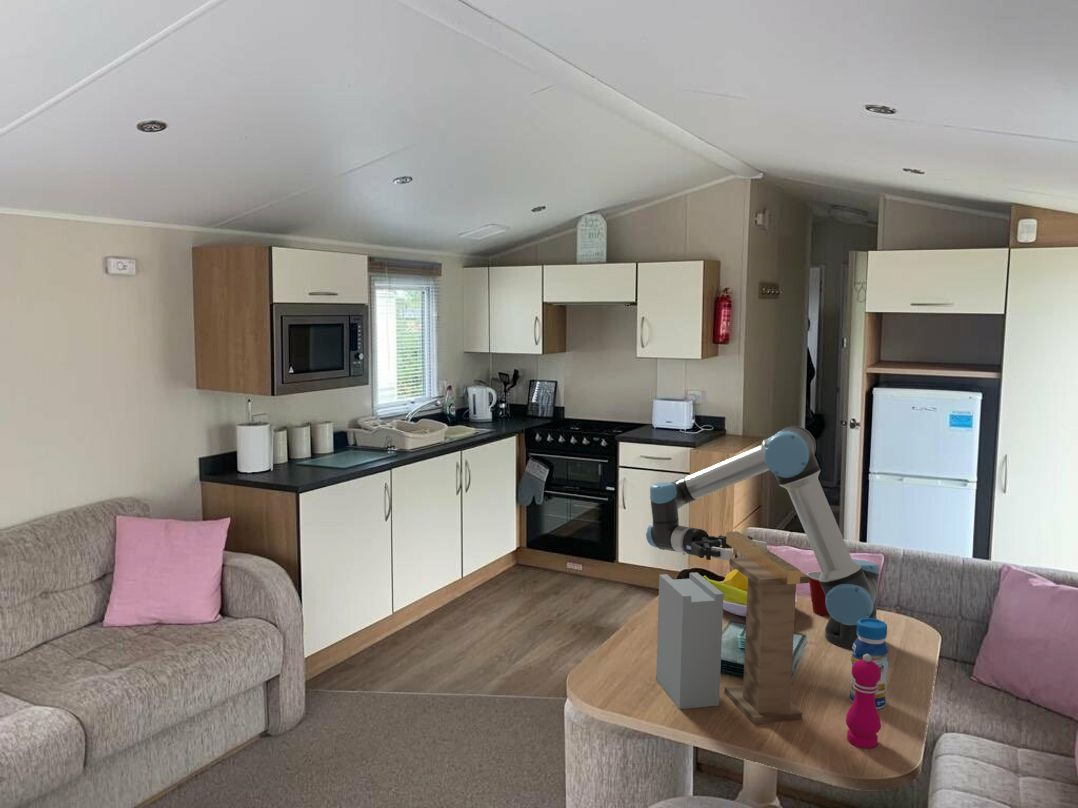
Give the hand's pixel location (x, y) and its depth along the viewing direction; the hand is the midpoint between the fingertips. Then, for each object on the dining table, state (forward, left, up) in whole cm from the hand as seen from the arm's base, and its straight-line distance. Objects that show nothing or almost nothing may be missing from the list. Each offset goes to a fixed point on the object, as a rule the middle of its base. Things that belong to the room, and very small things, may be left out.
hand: (749, 551), depth 229 cm
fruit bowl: (+2, -39, -30) cm, 49 cm away
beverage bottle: (-30, +15, -30) cm, 45 cm away
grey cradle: (+12, +24, -30) cm, 40 cm away
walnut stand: (-6, +25, -30) cm, 40 cm away
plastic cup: (-20, -45, -30) cm, 58 cm away
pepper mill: (-28, +35, -30) cm, 54 cm away
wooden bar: (-4, +22, +4) cm, 22 cm away
